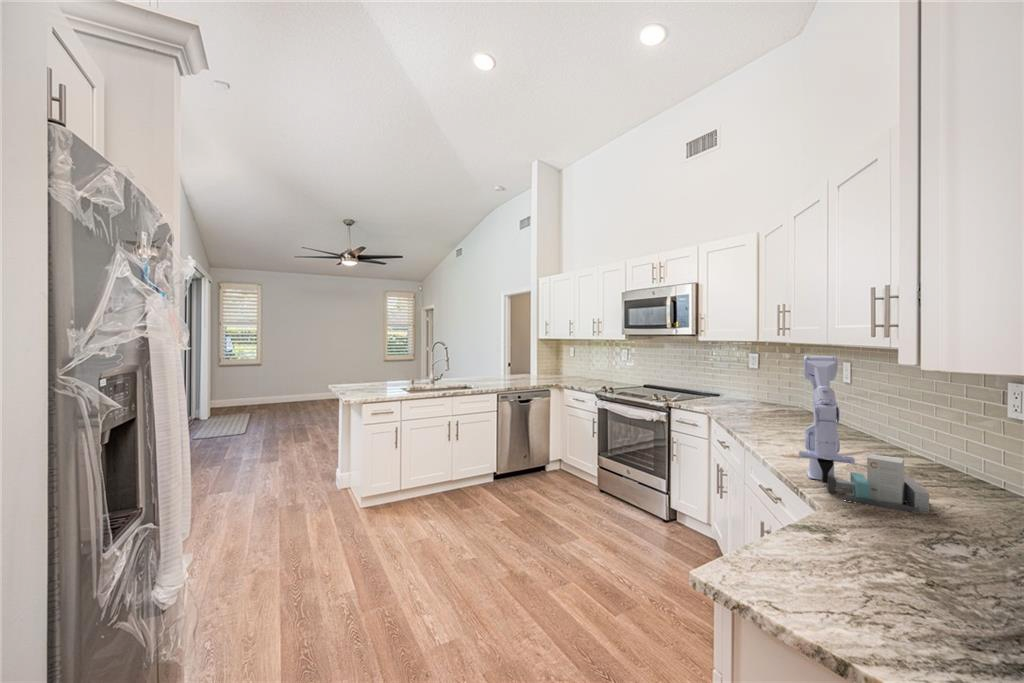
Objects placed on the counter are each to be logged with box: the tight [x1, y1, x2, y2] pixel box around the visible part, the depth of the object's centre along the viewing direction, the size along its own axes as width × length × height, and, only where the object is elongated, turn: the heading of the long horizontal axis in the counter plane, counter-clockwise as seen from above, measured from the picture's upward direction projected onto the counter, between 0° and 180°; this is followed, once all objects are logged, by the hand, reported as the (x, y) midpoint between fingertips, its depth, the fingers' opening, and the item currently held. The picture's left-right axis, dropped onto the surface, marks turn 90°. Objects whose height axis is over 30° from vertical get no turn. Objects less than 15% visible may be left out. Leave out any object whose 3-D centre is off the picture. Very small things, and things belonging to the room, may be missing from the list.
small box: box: [866, 453, 905, 504], centre depth 126 cm, size 8×6×13 cm
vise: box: [842, 476, 930, 515], centre depth 127 cm, size 15×19×6 cm
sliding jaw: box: [824, 472, 871, 499], centre depth 131 cm, size 11×10×6 cm
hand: (825, 482), depth 134 cm, fingers closed, pressing on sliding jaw
